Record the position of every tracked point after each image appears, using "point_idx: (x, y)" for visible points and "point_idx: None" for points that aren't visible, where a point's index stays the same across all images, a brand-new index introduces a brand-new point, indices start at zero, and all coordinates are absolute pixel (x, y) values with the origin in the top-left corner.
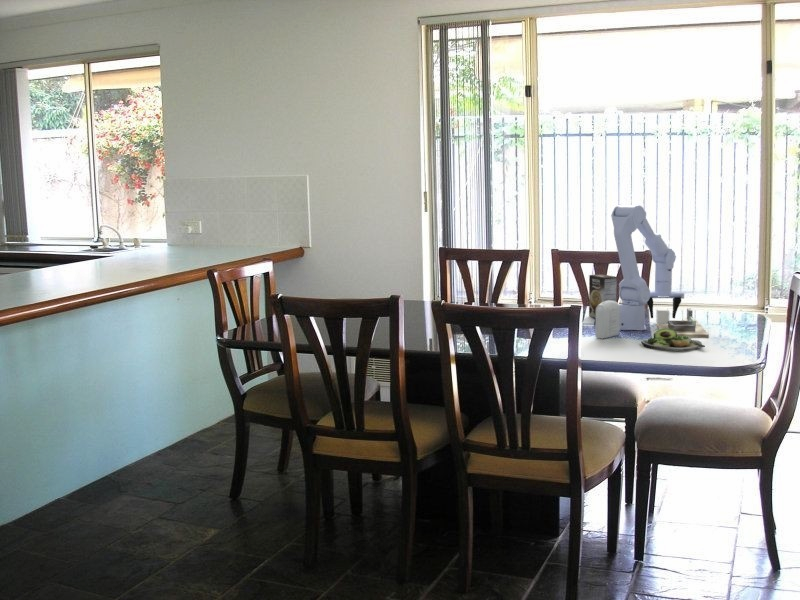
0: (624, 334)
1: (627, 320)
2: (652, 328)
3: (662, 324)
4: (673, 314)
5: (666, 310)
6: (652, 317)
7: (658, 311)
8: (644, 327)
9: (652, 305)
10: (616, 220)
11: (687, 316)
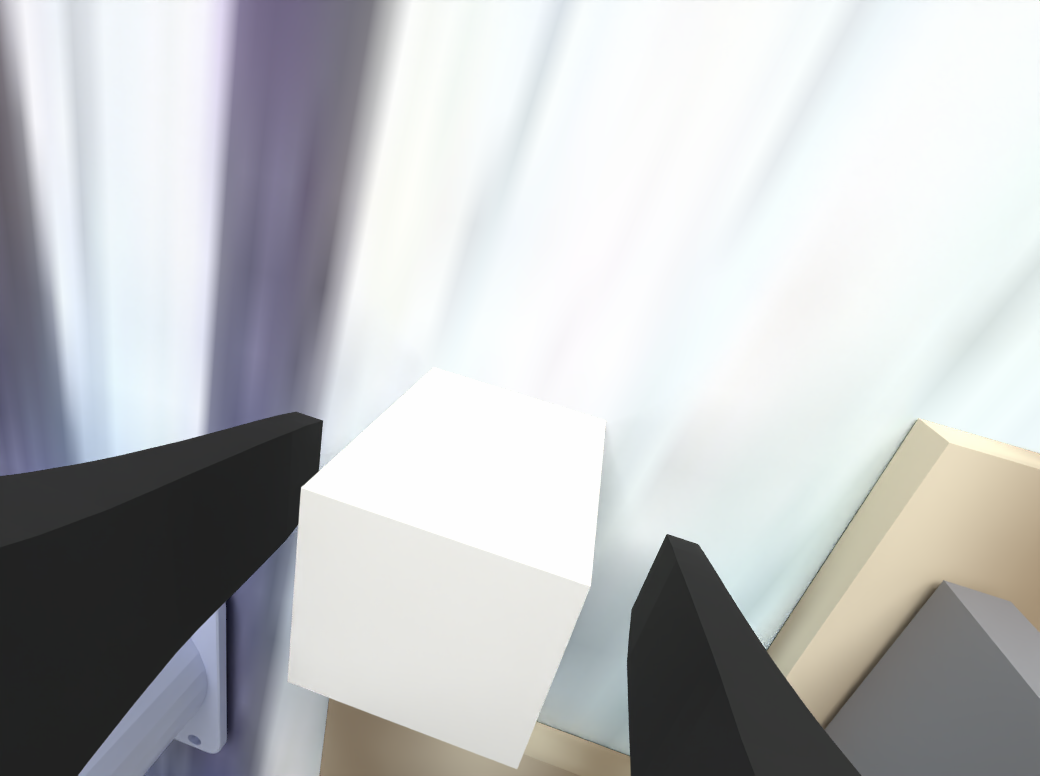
0: None
1: None
2: (297, 688)
3: None
4: (629, 690)
5: (467, 736)
6: (297, 507)
7: (313, 671)
8: (205, 706)
9: (73, 757)
10: None
11: (934, 694)
